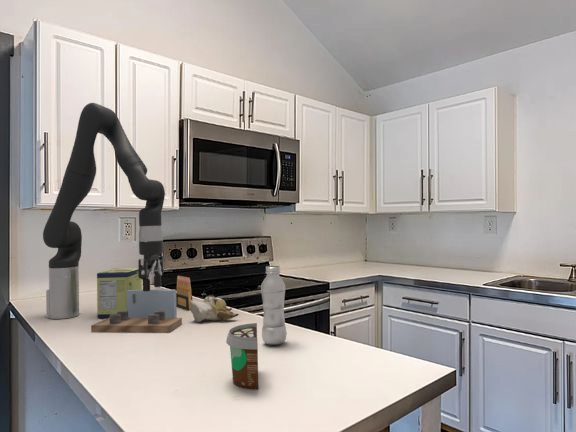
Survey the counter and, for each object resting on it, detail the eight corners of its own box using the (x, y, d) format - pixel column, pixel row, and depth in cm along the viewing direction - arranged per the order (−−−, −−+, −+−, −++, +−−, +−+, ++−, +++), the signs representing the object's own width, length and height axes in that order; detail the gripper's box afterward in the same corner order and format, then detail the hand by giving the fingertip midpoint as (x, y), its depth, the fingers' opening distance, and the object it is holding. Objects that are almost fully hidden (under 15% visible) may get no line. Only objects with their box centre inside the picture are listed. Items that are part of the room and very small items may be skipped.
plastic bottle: (290, 341, 109) (288, 265, 110) (281, 348, 103) (280, 268, 103) (267, 339, 112) (266, 264, 112) (257, 346, 105) (256, 267, 105)
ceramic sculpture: (188, 292, 138) (232, 291, 143) (186, 318, 138) (231, 316, 143) (192, 297, 128) (240, 296, 133) (191, 326, 128) (239, 323, 133)
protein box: (142, 308, 156) (142, 267, 156) (127, 318, 141) (127, 272, 141) (114, 309, 156) (113, 267, 156) (96, 319, 140) (96, 272, 140)
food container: (228, 370, 89) (227, 323, 89) (257, 369, 89) (256, 322, 89) (224, 394, 76) (223, 339, 76) (258, 392, 77) (257, 338, 77)
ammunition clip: (192, 310, 152) (192, 277, 152) (188, 311, 150) (187, 277, 151) (180, 306, 160) (179, 274, 160) (175, 306, 159) (175, 275, 159)
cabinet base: (91, 332, 123) (91, 316, 123) (109, 323, 133) (109, 309, 133) (169, 332, 120) (169, 317, 121) (181, 324, 130) (181, 309, 130)
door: (126, 321, 136) (125, 291, 136) (130, 319, 138) (129, 289, 139) (173, 321, 134) (173, 290, 134) (176, 320, 137) (176, 289, 137)
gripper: (149, 239, 145) (150, 286, 144) (129, 241, 130) (131, 293, 130) (170, 238, 144) (171, 285, 143) (152, 240, 130) (154, 292, 129)
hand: (152, 289), depth 137 cm, fingers open, 8 cm apart
